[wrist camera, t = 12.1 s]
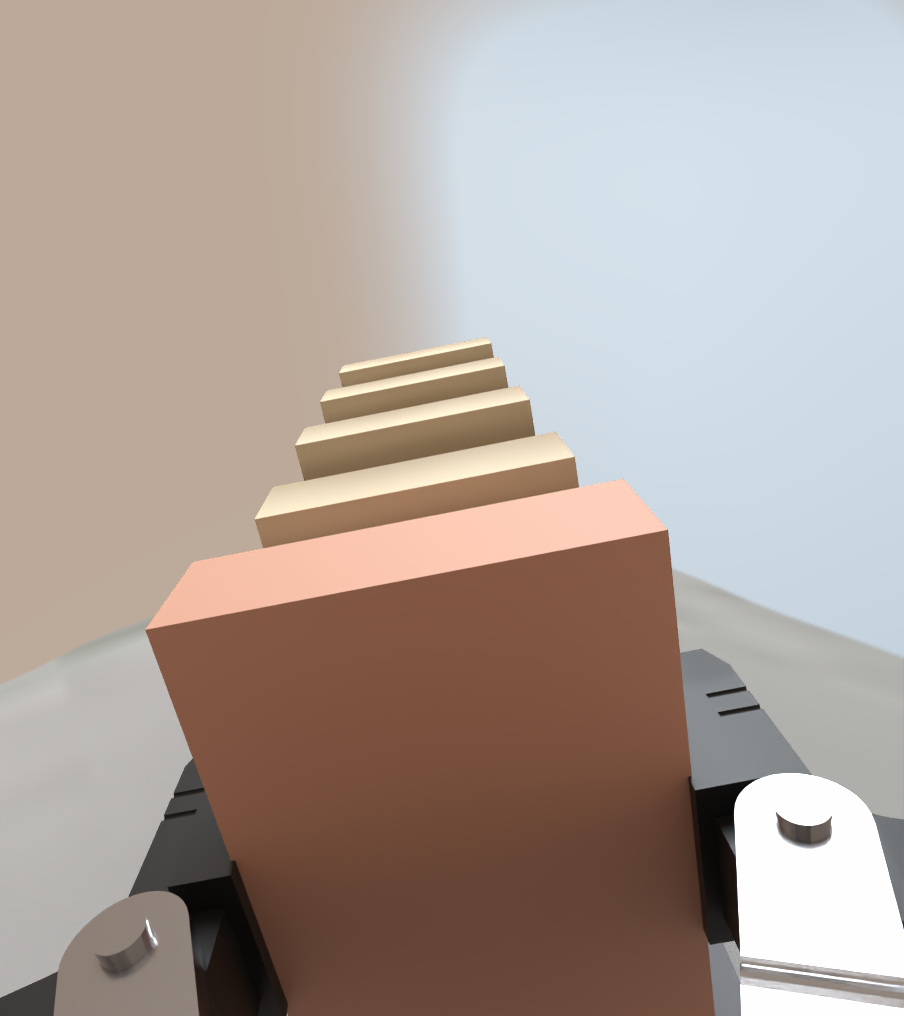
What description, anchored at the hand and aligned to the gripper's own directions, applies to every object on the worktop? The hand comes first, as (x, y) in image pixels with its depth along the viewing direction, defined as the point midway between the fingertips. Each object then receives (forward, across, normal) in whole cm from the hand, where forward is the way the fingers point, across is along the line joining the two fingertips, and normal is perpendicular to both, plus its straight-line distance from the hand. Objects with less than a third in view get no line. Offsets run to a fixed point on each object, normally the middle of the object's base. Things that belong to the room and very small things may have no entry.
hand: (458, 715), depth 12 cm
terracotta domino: (-3, 0, +6) cm, 7 cm away
